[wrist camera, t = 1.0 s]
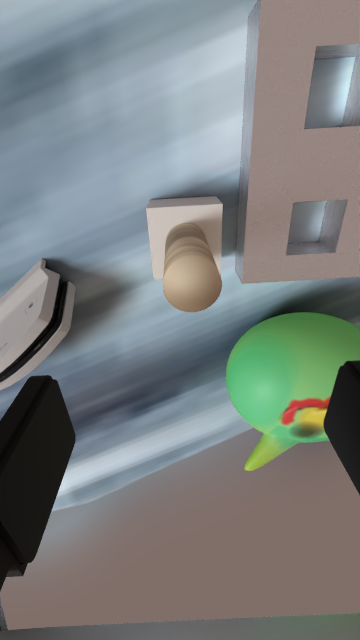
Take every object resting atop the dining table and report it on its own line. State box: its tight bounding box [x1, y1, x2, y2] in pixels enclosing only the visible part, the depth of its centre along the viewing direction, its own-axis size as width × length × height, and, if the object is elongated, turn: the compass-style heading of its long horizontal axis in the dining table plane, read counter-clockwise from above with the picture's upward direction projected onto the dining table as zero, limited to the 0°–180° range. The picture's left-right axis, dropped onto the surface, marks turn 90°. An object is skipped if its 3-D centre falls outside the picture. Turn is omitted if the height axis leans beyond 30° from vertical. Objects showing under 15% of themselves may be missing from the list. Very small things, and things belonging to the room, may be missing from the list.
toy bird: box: [226, 312, 360, 471], centre depth 35 cm, size 18×17×15 cm
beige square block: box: [146, 196, 223, 279], centre depth 30 cm, size 7×7×5 cm
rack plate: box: [235, 0, 360, 284], centre depth 27 cm, size 22×14×4 cm, turn 3°
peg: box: [163, 223, 222, 312], centre depth 24 cm, size 4×4×10 cm
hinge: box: [0, 259, 76, 390], centre depth 34 cm, size 17×5×10 cm, turn 129°
